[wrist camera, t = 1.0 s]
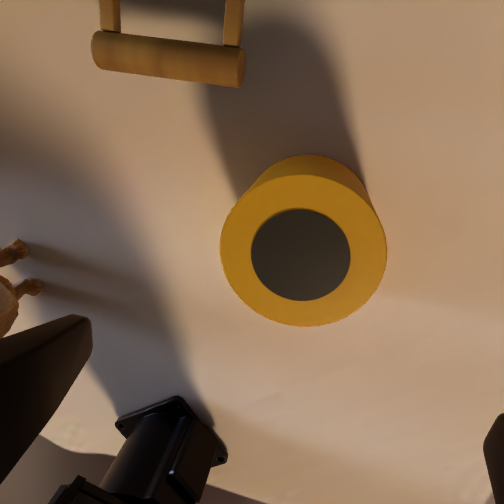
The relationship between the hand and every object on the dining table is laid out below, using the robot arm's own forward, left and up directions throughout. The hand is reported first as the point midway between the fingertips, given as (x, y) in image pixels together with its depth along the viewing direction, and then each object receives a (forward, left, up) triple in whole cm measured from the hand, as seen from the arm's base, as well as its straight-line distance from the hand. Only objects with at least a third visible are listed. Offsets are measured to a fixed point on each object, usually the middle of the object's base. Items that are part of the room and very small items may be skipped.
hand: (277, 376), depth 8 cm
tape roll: (0, 0, -12) cm, 12 cm away
